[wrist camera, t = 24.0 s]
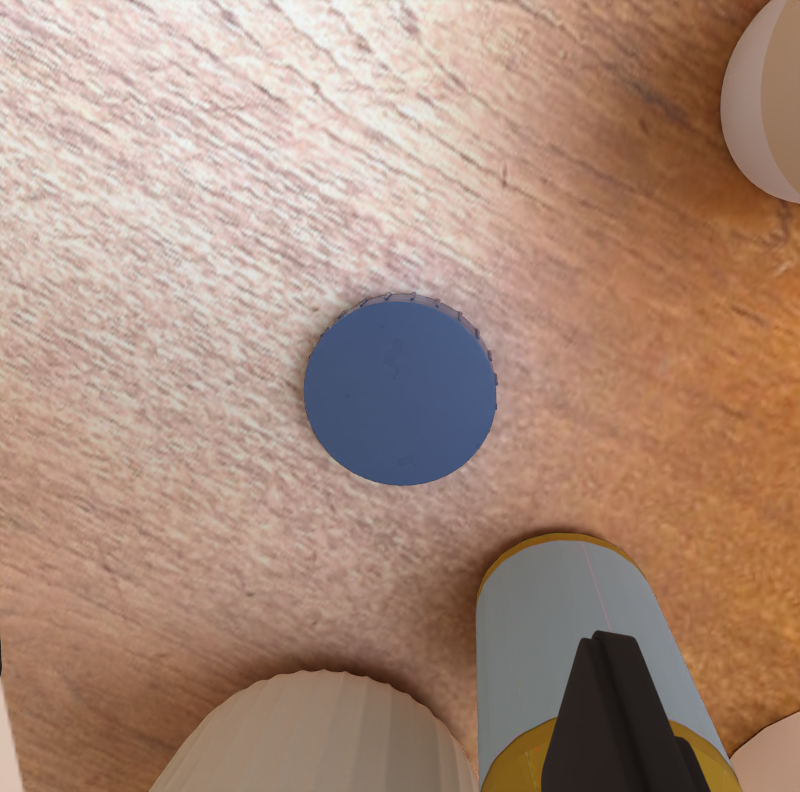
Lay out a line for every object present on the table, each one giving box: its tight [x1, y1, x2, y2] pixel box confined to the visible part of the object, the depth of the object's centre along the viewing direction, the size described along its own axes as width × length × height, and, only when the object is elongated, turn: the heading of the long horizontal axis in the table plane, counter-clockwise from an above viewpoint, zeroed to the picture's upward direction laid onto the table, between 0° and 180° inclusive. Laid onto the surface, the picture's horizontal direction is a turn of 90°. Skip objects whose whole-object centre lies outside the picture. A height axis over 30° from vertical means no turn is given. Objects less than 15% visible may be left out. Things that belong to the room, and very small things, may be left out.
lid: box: [304, 292, 498, 486], centre depth 24 cm, size 7×7×2 cm
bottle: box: [476, 533, 742, 792], centre depth 20 cm, size 7×7×15 cm
